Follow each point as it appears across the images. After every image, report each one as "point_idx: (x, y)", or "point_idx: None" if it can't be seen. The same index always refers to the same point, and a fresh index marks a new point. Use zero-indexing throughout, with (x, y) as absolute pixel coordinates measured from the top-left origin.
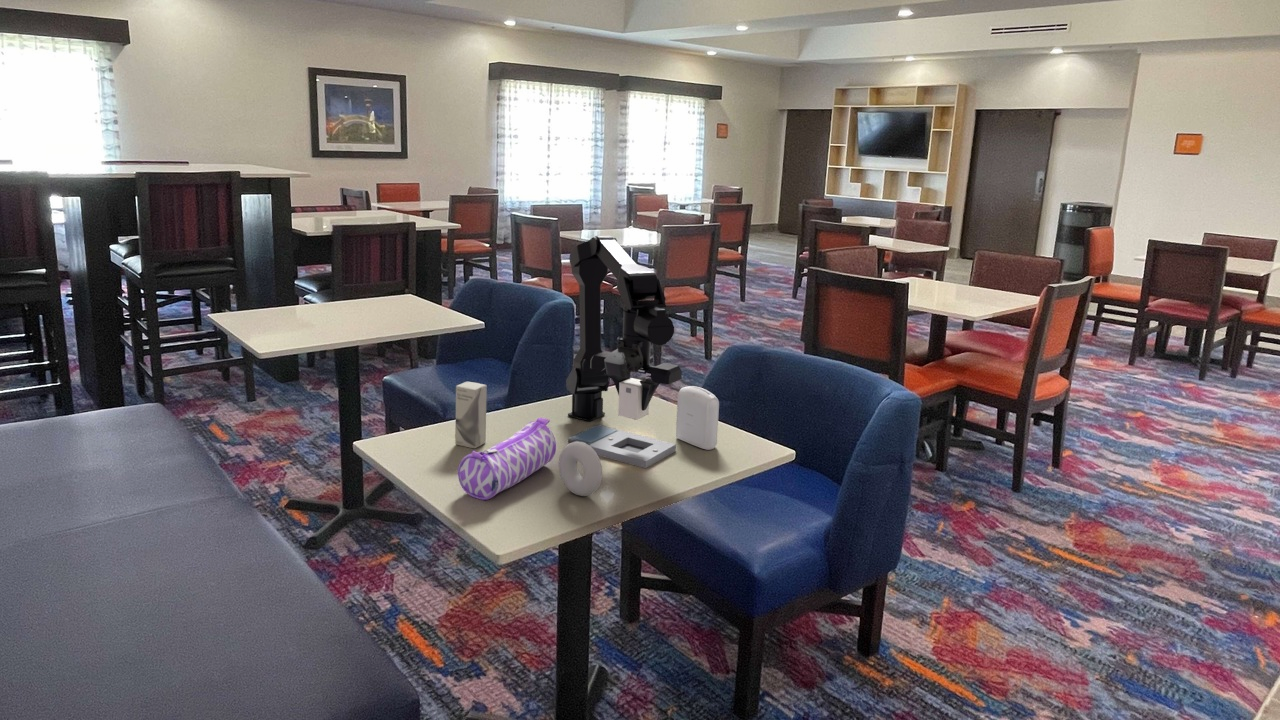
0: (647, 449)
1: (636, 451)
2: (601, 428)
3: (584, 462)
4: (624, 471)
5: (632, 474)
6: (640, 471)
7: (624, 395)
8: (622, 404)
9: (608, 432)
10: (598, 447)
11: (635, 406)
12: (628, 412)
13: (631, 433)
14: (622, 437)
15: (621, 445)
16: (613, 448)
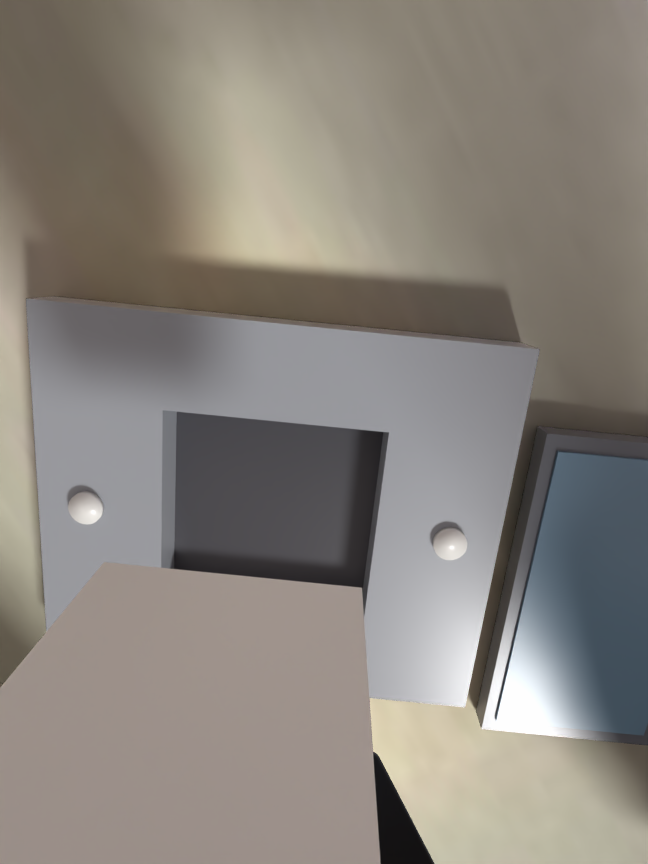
0: (142, 502)
1: (249, 514)
2: (600, 702)
3: None
4: (137, 162)
5: (63, 142)
6: (51, 226)
7: (235, 847)
8: (295, 690)
9: (529, 665)
10: (452, 354)
11: (45, 679)
12: (204, 613)
13: (374, 691)
14: (392, 607)
15: (369, 541)
16: (346, 395)
